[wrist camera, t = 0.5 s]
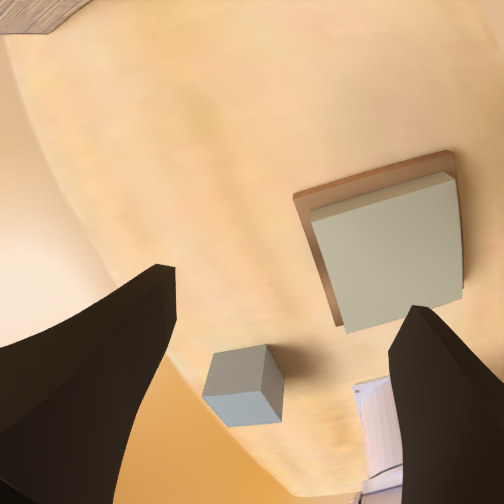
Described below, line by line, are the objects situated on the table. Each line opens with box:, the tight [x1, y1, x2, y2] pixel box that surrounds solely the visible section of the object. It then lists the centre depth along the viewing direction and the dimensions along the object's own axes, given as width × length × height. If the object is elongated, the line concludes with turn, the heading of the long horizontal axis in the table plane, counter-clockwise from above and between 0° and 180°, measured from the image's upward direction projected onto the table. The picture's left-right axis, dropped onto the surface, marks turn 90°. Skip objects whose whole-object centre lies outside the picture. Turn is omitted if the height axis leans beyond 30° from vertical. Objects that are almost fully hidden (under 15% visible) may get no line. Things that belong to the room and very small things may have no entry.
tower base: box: [293, 150, 464, 327], centre depth 18 cm, size 10×10×2 cm
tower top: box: [310, 171, 462, 334], centre depth 17 cm, size 8×8×2 cm
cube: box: [202, 344, 284, 427], centre depth 23 cm, size 4×4×4 cm
